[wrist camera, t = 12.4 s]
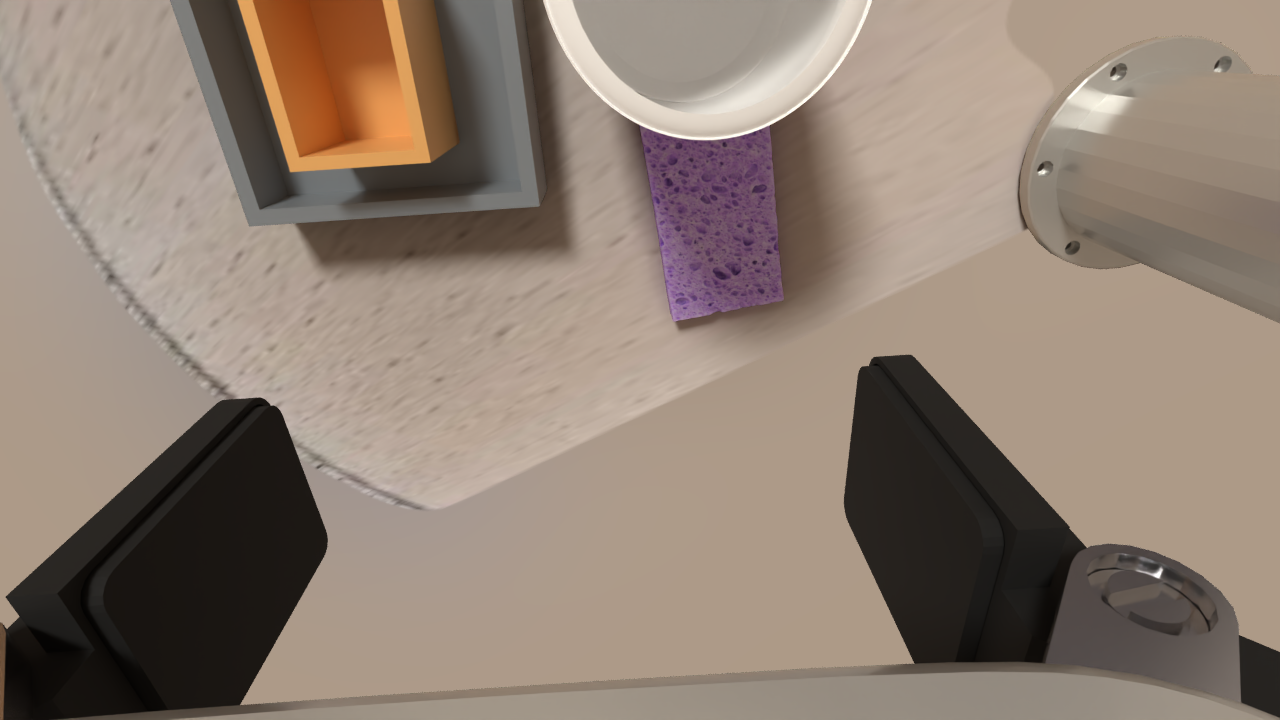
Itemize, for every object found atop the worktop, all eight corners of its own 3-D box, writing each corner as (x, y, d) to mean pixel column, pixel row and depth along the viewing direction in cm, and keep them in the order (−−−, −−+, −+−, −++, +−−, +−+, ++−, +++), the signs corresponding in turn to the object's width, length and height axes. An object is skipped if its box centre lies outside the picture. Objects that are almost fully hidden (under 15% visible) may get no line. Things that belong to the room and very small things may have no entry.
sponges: (669, 310, 40) (671, 322, 39) (634, 103, 35) (635, 106, 33) (778, 291, 40) (785, 302, 38) (761, 77, 34) (768, 80, 33)
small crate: (423, -56, 30) (381, -76, 25) (459, 142, 34) (430, 162, 29) (288, -47, 30) (217, -65, 25) (341, 150, 34) (290, 172, 29)
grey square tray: (505, -138, 29) (490, -162, 26) (547, 189, 36) (539, 206, 33) (182, -116, 29) (121, -137, 26) (285, 207, 36) (249, 226, 33)
